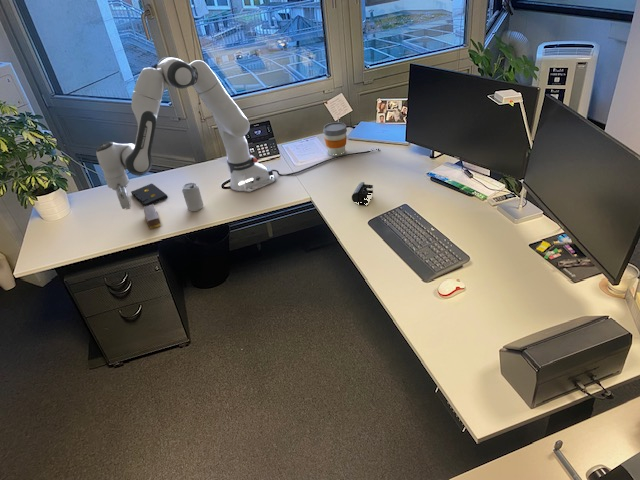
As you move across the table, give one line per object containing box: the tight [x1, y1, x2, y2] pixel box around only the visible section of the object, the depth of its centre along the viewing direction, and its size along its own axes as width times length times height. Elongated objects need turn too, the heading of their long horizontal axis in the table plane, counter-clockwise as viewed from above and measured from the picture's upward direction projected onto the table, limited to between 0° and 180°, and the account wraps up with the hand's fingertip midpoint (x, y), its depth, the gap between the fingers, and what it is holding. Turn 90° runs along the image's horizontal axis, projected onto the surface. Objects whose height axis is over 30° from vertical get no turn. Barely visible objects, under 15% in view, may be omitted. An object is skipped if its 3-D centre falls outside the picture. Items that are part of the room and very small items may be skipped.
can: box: [181, 182, 204, 212], centre depth 215 cm, size 8×8×12 cm
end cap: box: [351, 181, 374, 207], centre depth 208 cm, size 10×7×7 cm
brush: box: [142, 203, 161, 230], centre depth 211 cm, size 5×14×4 cm, turn 25°
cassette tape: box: [130, 183, 168, 207], centre depth 231 cm, size 18×12×2 cm, turn 40°
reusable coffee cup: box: [322, 121, 348, 157], centre depth 250 cm, size 13×13×15 cm
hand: (127, 207), depth 204 cm, fingers closed
